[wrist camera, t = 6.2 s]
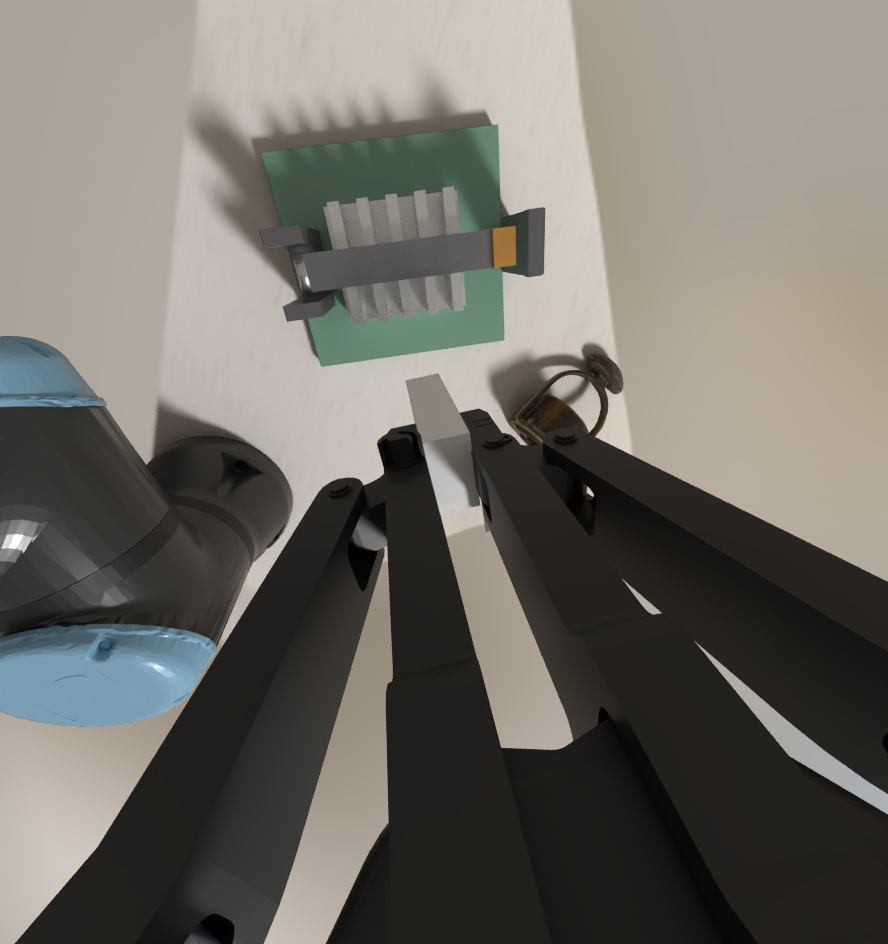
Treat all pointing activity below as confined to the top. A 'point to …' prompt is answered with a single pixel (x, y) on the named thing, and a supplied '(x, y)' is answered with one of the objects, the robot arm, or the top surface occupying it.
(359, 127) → the top surface
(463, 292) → the heatsink
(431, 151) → the board
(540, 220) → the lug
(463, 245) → the strap
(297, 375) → the top surface
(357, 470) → the top surface
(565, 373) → the antique brown clock
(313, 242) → the grey u-bracket
